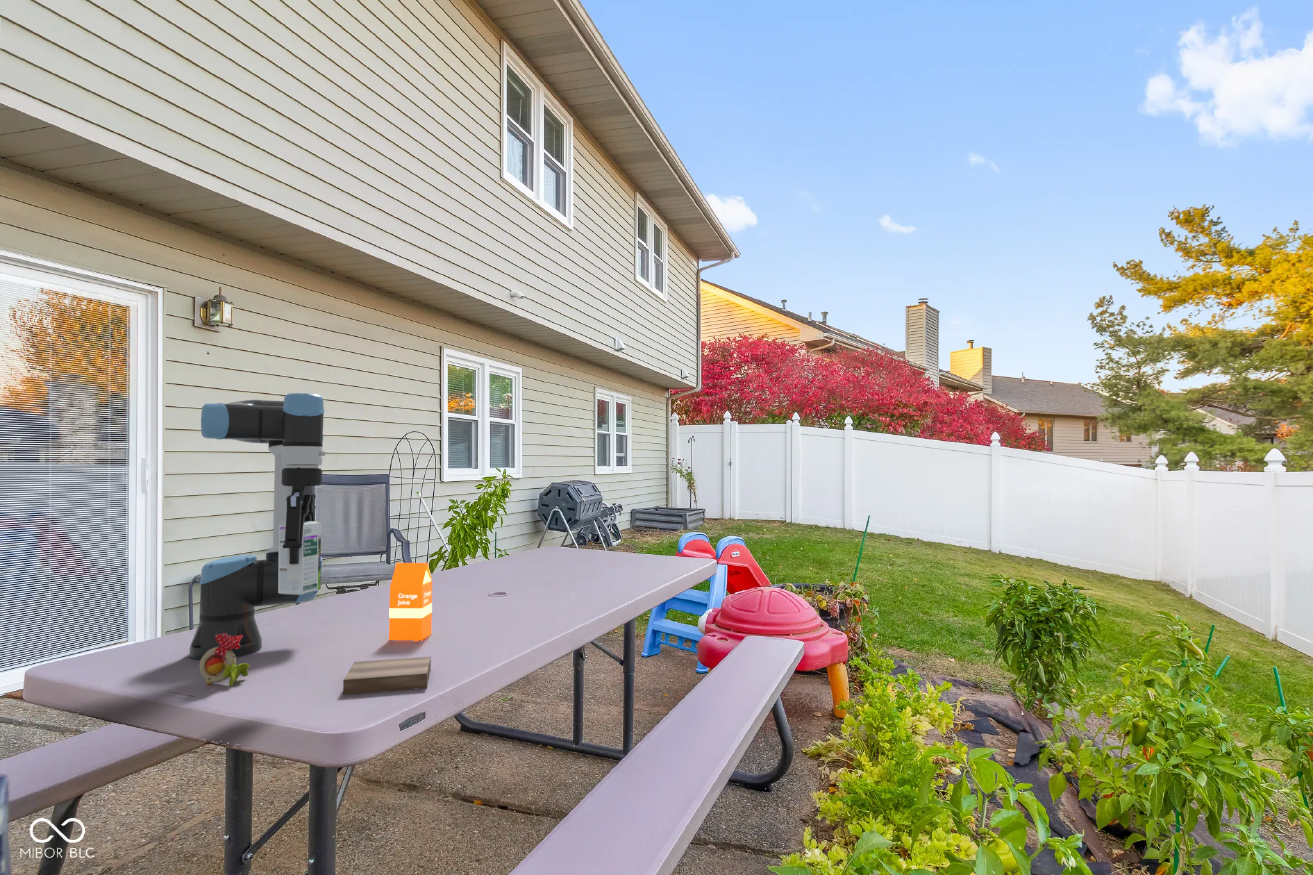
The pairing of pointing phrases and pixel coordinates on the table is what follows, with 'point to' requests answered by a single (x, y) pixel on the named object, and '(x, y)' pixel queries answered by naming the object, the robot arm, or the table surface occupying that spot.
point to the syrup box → (310, 561)
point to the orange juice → (410, 602)
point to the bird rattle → (223, 661)
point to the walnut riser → (387, 675)
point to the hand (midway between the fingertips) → (299, 576)
